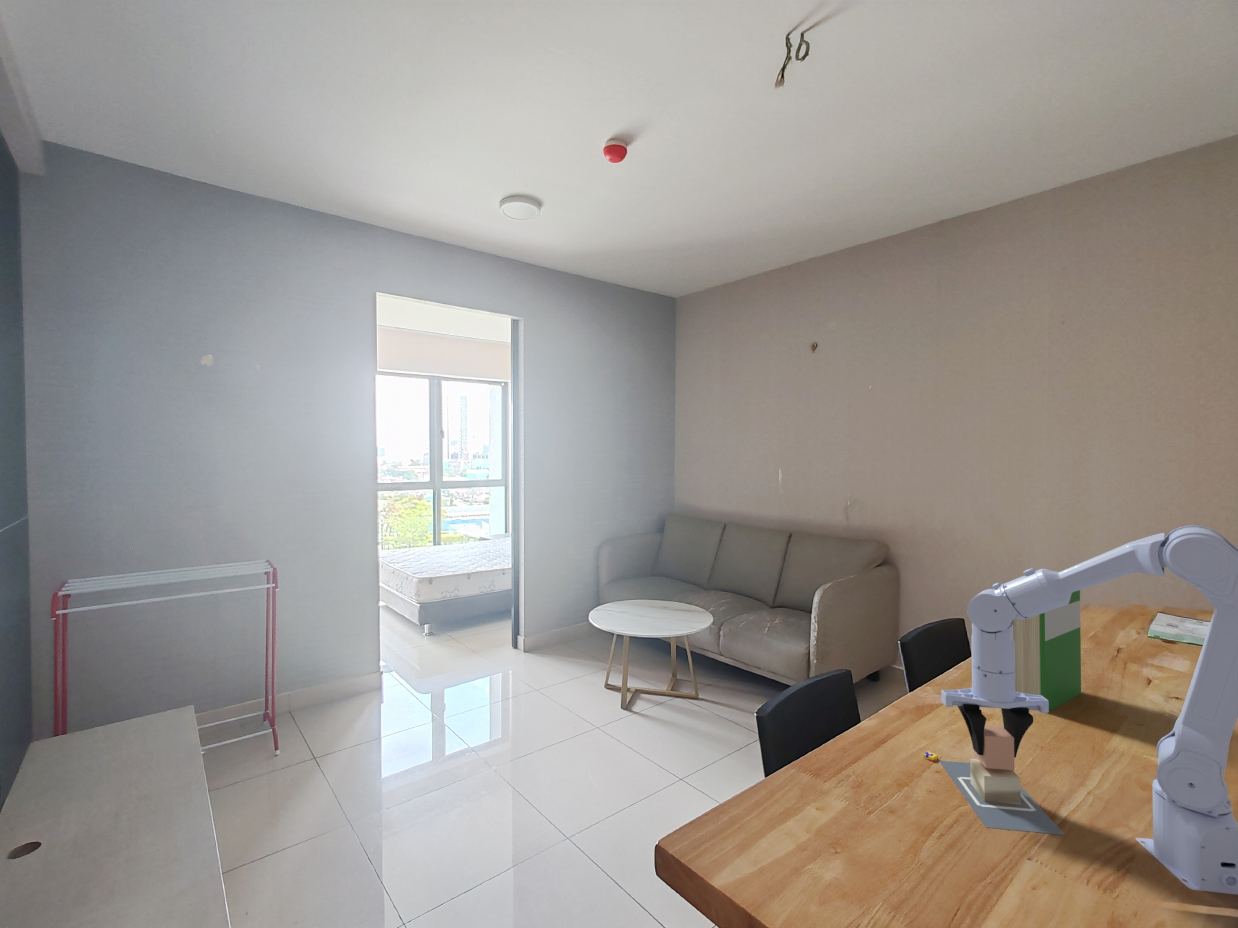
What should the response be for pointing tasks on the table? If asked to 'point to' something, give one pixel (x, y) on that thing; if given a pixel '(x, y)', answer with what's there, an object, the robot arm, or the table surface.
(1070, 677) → the hardback book
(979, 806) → the board
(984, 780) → the birch base block
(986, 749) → the terracotta block
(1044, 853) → the table surface
